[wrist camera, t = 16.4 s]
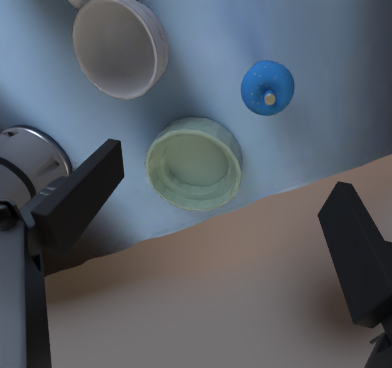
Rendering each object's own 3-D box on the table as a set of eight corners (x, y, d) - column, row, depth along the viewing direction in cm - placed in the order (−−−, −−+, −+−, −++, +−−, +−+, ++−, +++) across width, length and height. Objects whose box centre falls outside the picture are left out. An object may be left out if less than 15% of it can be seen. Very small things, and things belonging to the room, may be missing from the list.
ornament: (244, 47, 31) (238, 71, 20) (284, 44, 30) (304, 67, 18) (243, 88, 34) (238, 129, 23) (280, 86, 33) (294, 129, 21)
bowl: (141, 160, 46) (129, 176, 42) (187, 95, 37) (178, 107, 32) (205, 205, 50) (200, 223, 45) (261, 156, 40) (262, 174, 36)
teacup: (187, 67, 34) (173, 81, 28) (130, 95, 38) (106, 112, 32) (137, -53, 27) (102, -70, 21) (74, -3, 32) (30, -5, 25)
